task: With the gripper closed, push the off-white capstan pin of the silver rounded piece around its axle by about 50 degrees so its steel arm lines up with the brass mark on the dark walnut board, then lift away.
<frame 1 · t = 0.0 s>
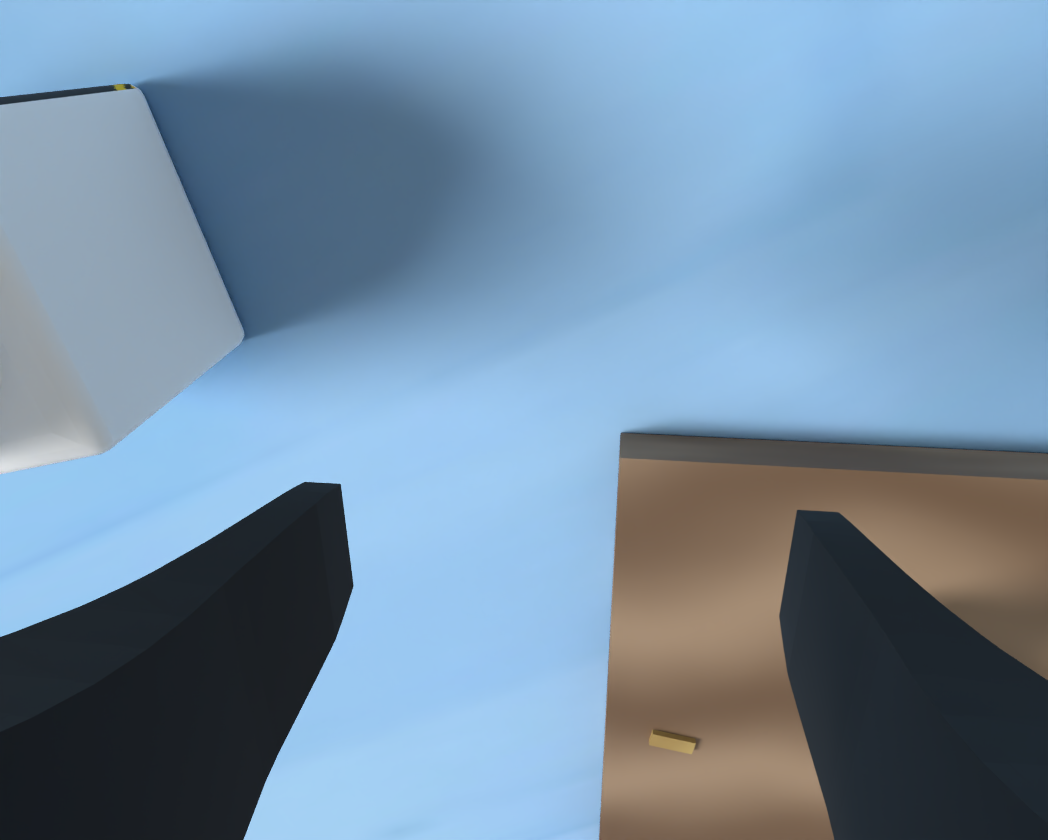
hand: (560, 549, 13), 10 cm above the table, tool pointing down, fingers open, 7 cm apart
medicine bottle: (94, 245, 23), on the table
stand board: (919, 696, 26), on the table
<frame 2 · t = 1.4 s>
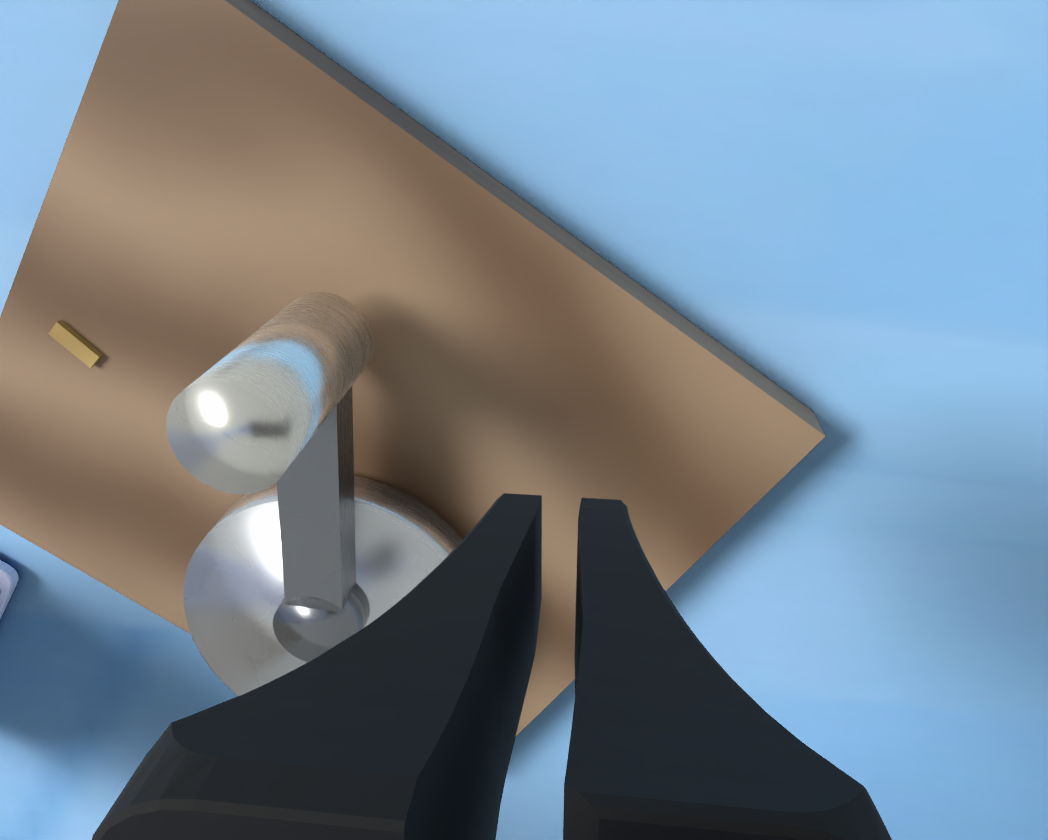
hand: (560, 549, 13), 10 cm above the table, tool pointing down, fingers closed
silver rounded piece: (304, 590, 21), point 5 cm above the table, hinge at -50.0°
stand board: (354, 440, 24), on the table
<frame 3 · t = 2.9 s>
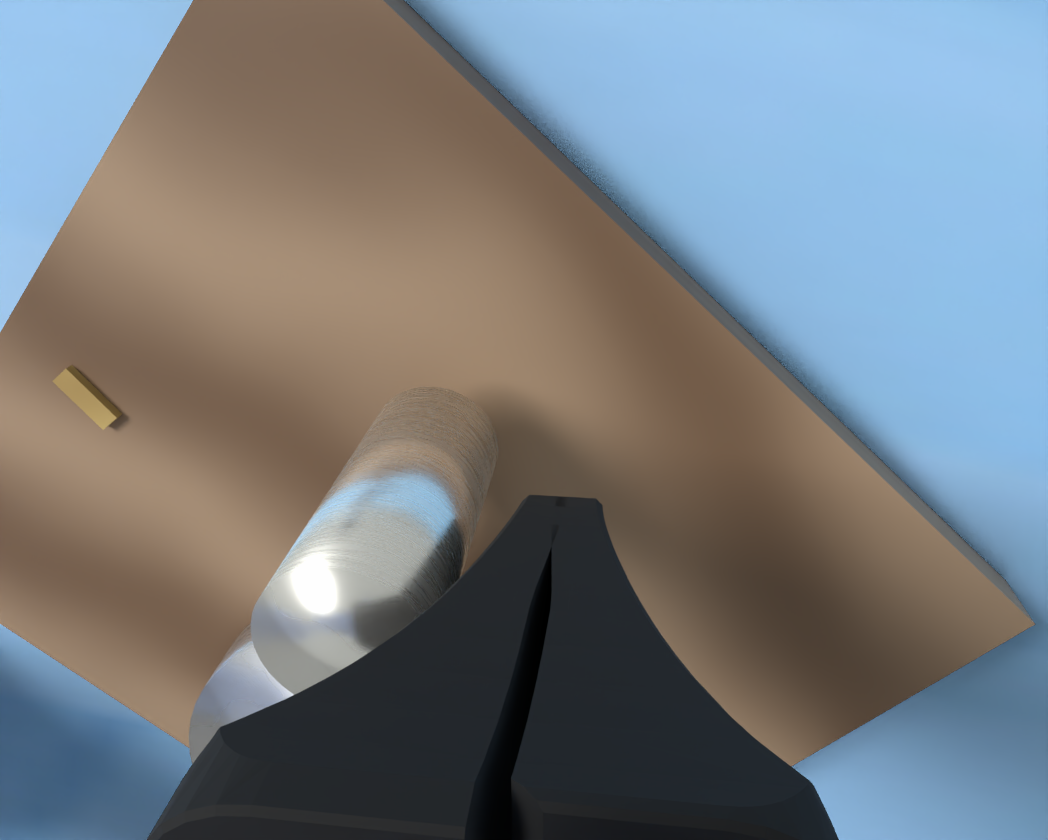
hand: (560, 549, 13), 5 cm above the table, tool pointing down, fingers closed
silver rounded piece: (364, 761, 16), point 5 cm above the table, hinge at -50.0°, touching gripper
stand board: (424, 542, 20), on the table
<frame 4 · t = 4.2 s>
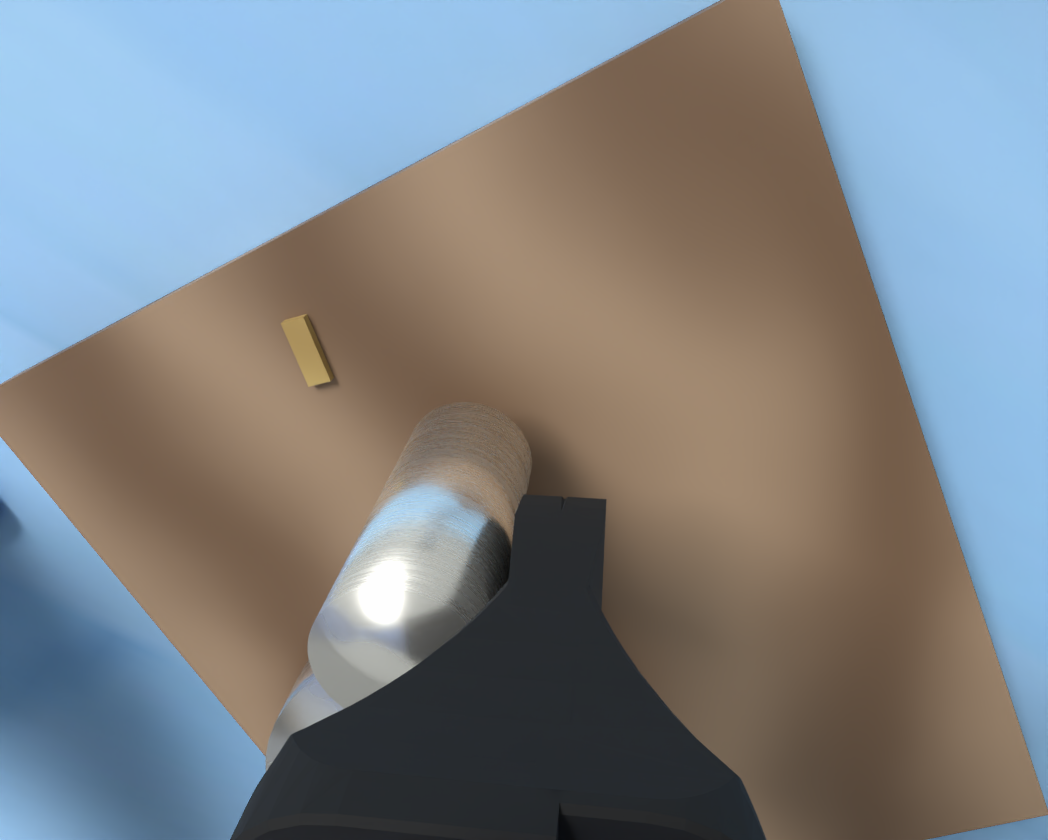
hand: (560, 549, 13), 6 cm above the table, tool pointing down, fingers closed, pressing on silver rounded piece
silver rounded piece: (437, 779, 16), point 5 cm above the table, hinge at -20.8°, touching gripper
stand board: (542, 578, 20), on the table
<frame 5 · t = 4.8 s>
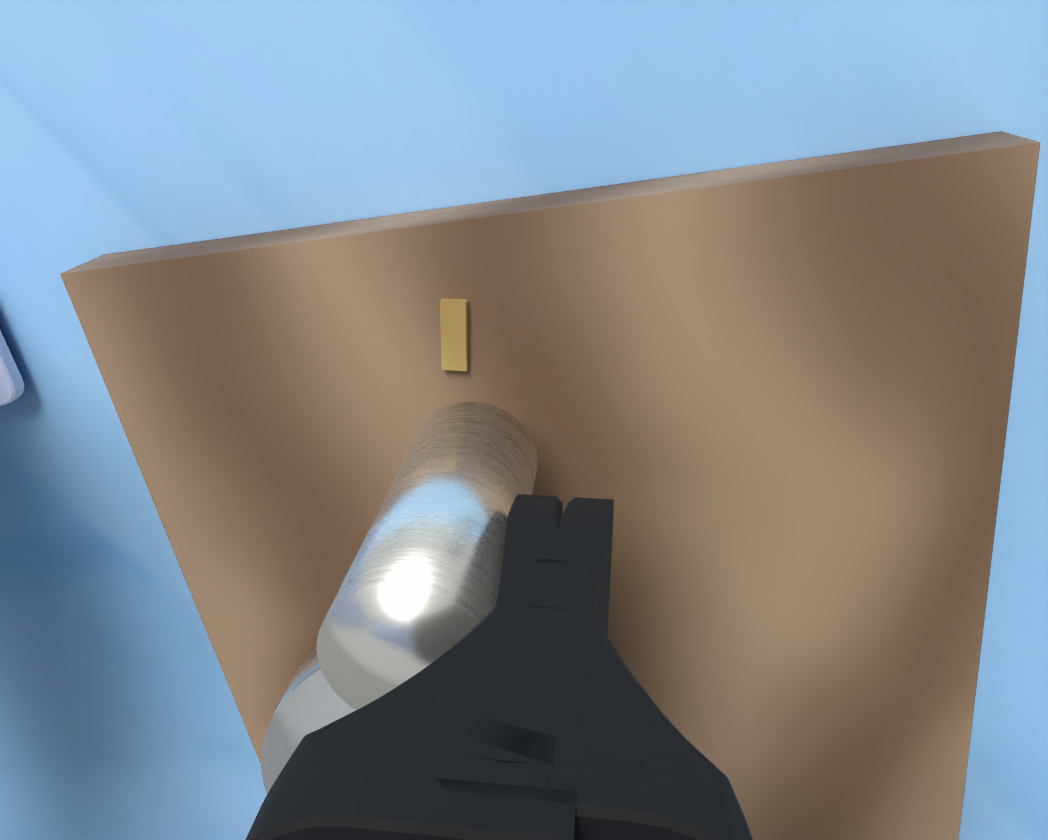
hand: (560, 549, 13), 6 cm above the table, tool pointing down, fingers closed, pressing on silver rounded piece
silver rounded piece: (436, 777, 16), point 5 cm above the table, hinge at -4.2°, touching gripper
stand board: (573, 601, 20), on the table
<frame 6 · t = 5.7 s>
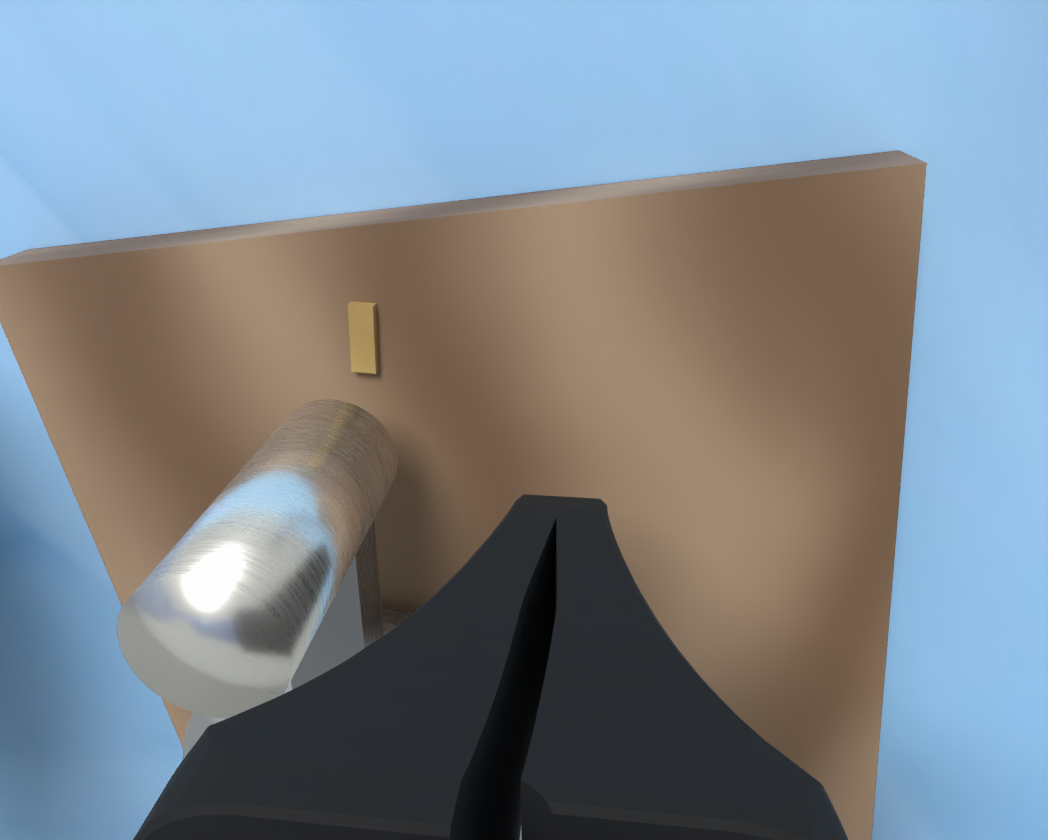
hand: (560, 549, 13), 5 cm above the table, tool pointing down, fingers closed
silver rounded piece: (329, 772, 16), point 5 cm above the table, hinge at 1.8°
stand board: (495, 602, 20), on the table
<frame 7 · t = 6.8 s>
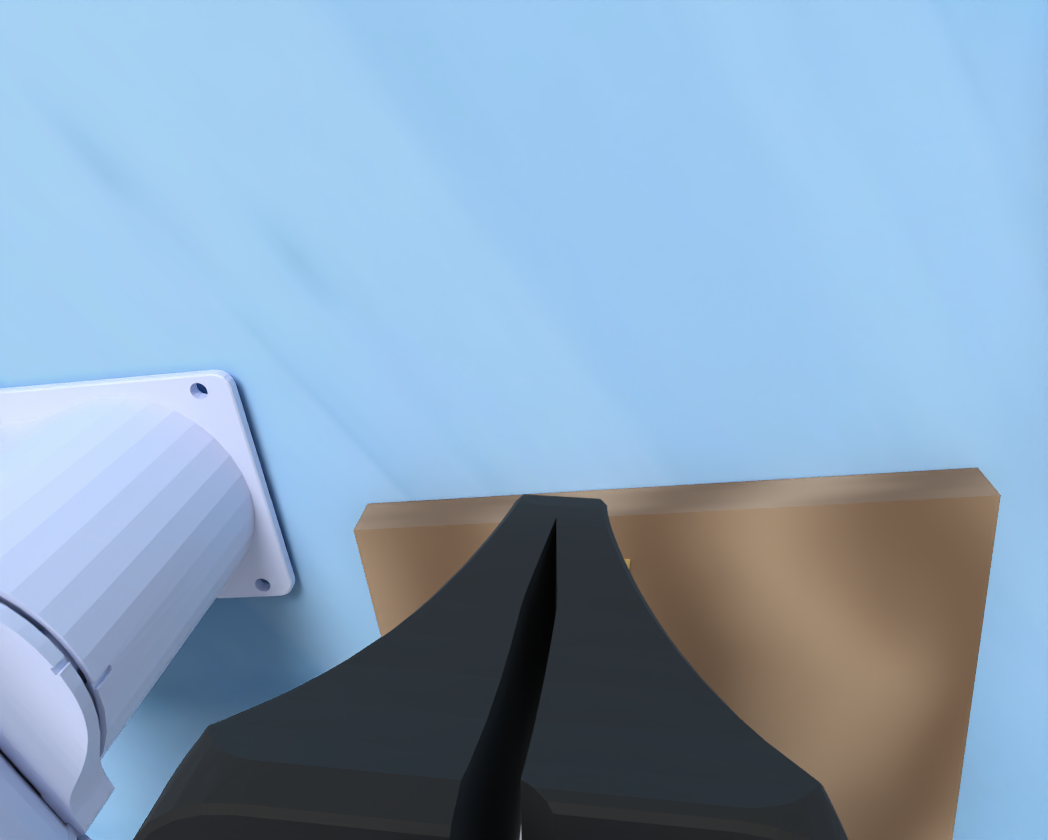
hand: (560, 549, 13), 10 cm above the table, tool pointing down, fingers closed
stand board: (672, 732, 28), on the table
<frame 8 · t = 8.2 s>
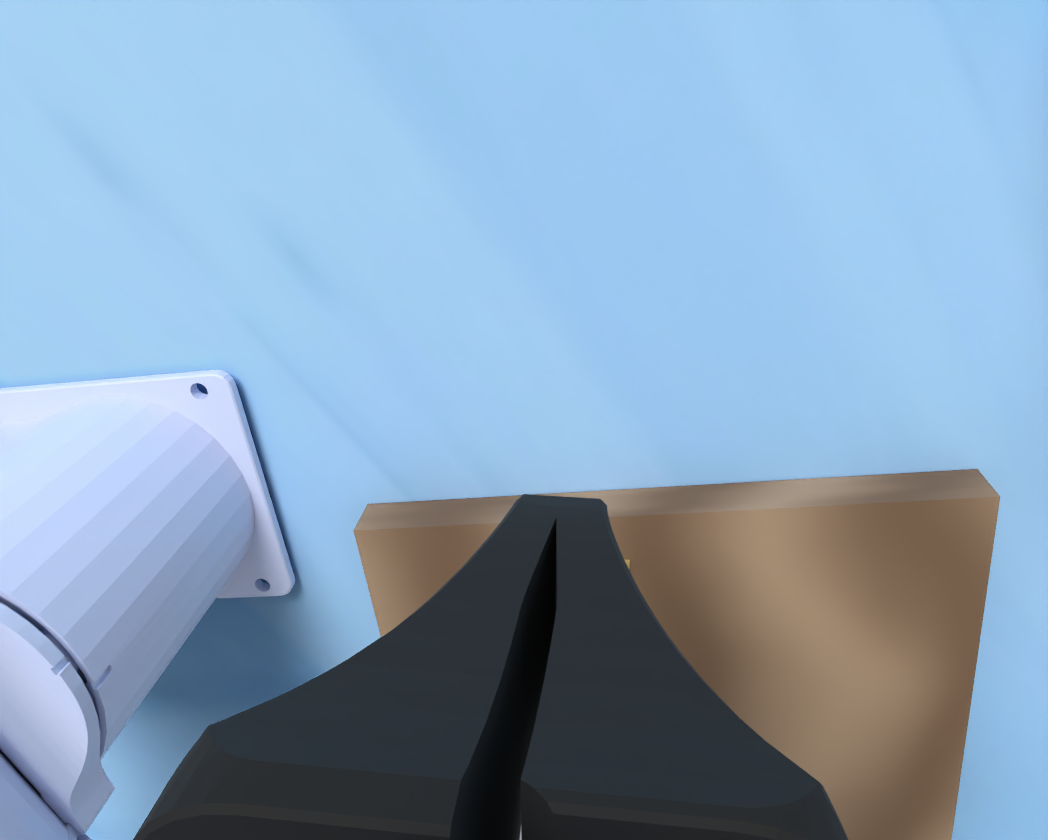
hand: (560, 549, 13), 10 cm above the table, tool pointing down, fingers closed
stand board: (672, 732, 28), on the table
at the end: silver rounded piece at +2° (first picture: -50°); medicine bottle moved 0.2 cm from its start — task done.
